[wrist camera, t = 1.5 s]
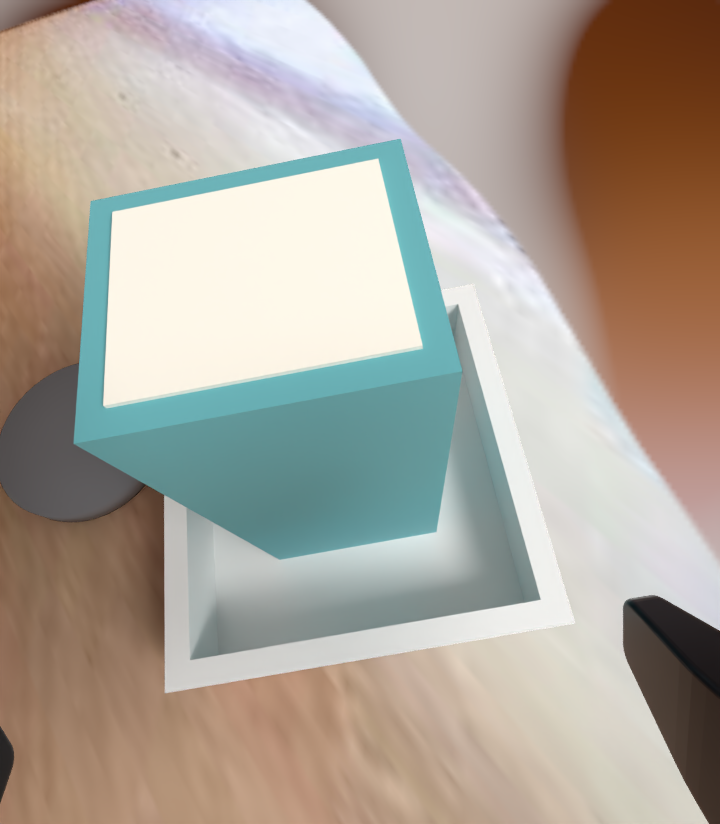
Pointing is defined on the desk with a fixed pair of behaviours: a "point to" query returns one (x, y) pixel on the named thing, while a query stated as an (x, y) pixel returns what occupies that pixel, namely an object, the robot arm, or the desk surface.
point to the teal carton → (274, 351)
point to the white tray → (376, 561)
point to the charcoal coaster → (57, 457)
